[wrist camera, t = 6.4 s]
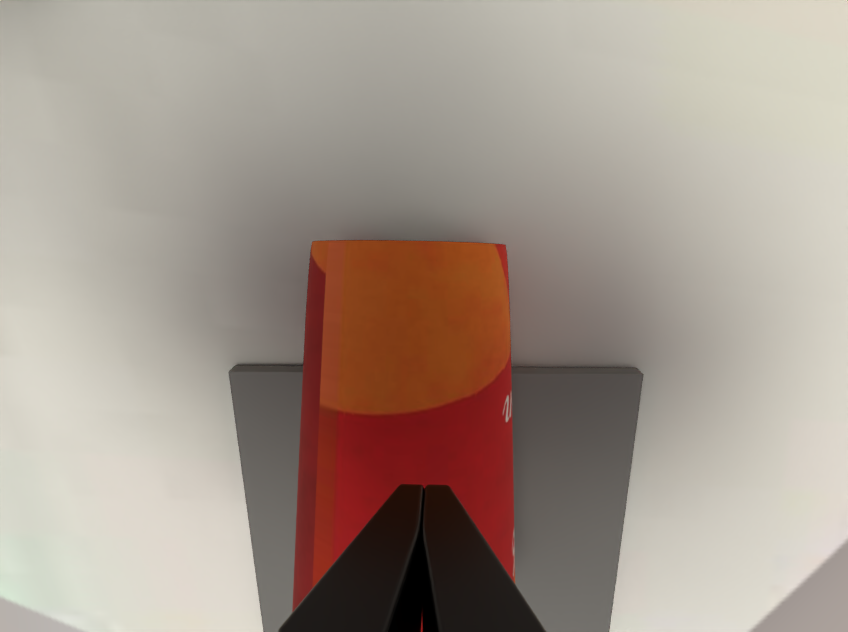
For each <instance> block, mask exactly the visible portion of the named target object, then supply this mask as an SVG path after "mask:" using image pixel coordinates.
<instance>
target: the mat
mask: <svg viewBox="0 0 848 632" xmlns="http://www.w3.org/2000/svg"><path fill="white" fill-rule="evenodd" d="M229 378H230V385H231V393H232V400H233V408H234V415H235V423H236V430H237V437H238V445H239V452H240V460H241V467H242V475H243V482H244V490H245V497H246V504H247V512H248V519H249V527H250V534H251V542H252V549H253V557H254V564H255V572H256V579H257V586H258V594H259V601H260V609H261V616H262V624H263V631H264V632H278V629H279V628H280V626H281V625H282V624H283V623H284V622H285V620H286V619H287V618H288V617H289V616H290V615H291V613H292V607H293V584H294V560H295V537H296V514H297V490H298V467H299V445H300V423H301V402H302V380H303V366H246V365H235V366H234V367H233V368H232V369H231V370H230V371H229ZM511 381H512V430H513V482H514V542H515V585H516V586H517V588H518V589H519V591H520V592H521V594H522V595H523V597H524V598H525V600H526V601H527V603H528V604H529V606H530V607H531V609H532V610H533V612H534V613H535V615H536V616H537V618H538V619H539V621H540V622H541V624H542V625H543V627H544V628H545V630H546V631H547V632H609V629H610V622H611V614H612V606H613V599H614V591H615V584H616V576H617V569H618V561H619V554H620V546H621V539H622V531H623V524H624V516H625V509H626V501H627V494H628V486H629V478H630V471H631V463H632V456H633V448H634V441H635V433H636V426H637V418H638V411H639V403H640V396H641V388H642V381H643V374H642V373H641V372H640V371H639V370H638V369H637V368H564V367H511Z"/></svg>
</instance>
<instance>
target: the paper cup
mask: <svg viewBox="0 0 848 632" xmlns="http://www.w3.org/2000/svg"><path fill="white" fill-rule="evenodd" d="M401 484H420V485H423V487H424V489H425V487H426V486H427V485H448V486H450V487H451V489H452V490H453V492H454V493H455V495H456V496H457V498H458V499H459V501H460V502H461V504H462V505H463V507H464V508H465V510H466V511H467V513H468V514H469V516H470V517H471V519H472V520H473V522H474V523H475V525H476V526H477V528H478V529H479V531H480V532H481V534H482V535H483V537H484V538H485V540H486V541H487V543H488V544H489V546H490V547H491V549H492V550H493V552H494V553H495V555H496V556H497V558H498V559H499V561H500V562H501V564H502V565H503V567H504V568H505V570H506V571H507V573H508V574H509V576H510V577H511V579H512V580H513V582H514V583H515V542H514V482H513V430H512V381H511V340H510V306H509V280H508V264H507V251H506V245H503V244H491V243H472V242H443V241H395V240H331V241H313V242H312V246H311V252H310V263H309V274H308V289H307V304H306V321H305V341H304V361H303V380H302V402H301V423H300V445H299V467H298V490H297V514H296V537H295V560H294V584H293V607H292V612H293V611H294V610H295V609H296V607H297V606H298V605H299V604H300V603H301V601H302V600H303V599H304V598H305V597H306V595H307V594H308V593H309V592H310V591H311V589H312V588H313V587H314V586H315V585H316V584H317V582H318V581H319V580H320V579H321V578H322V576H323V575H324V574H325V573H326V572H327V570H328V569H329V568H330V567H331V566H332V564H333V563H334V562H335V561H336V560H337V558H338V557H339V556H340V555H341V554H342V553H343V551H344V550H345V549H346V548H347V547H348V545H349V544H350V543H351V542H352V541H353V539H354V538H355V537H356V536H357V535H358V533H359V532H360V531H361V530H362V529H363V528H364V526H365V525H366V524H367V523H368V522H369V520H370V519H371V518H372V517H373V516H374V514H375V513H376V512H377V511H378V510H379V508H380V507H381V506H382V505H383V504H384V502H385V501H386V500H387V499H388V498H389V497H390V495H391V494H392V493H393V492H394V491H395V489H396V488H397V487H398V486H399V485H401ZM421 632H422V627H421Z"/></svg>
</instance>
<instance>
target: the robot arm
mask: <svg viewBox="0 0 848 632" xmlns="http://www.w3.org/2000/svg"><path fill="white" fill-rule="evenodd" d="M421 627H422V632H547V631H546V630H545V628H544V627H543V625H542V624H541V622H540V621H539V619H538V618H537V616H536V615H535V613H534V612H533V610H532V609H531V607H530V606H529V604H528V603H527V601H526V600H525V598H524V597H523V595H522V594H521V592H520V591H519V589H518V588H517V586H516V585H515V583H514V582H513V580H512V579H511V577H510V576H509V574H508V573H507V571H506V570H505V568H504V567H503V565H502V564H501V562H500V561H499V559H498V558H497V556H496V555H495V553H494V552H493V550H492V549H491V547H490V546H489V544H488V543H487V541H486V540H485V538H484V537H483V535H482V534H481V532H480V531H479V529H478V528H477V526H476V525H475V523H474V522H473V520H472V519H471V517H470V516H469V514H468V513H467V511H466V510H465V508H464V507H463V505H462V504H461V502H460V501H459V499H458V498H457V496H456V495H455V493H454V492H453V490H452V489H451V487H450V486H448V485H427V486H426V487H425V489H424V487H423V485H420V484H401V485H399V486H398V487H397V488H396V489H395V491H394V492H393V493H392V494H391V495H390V497H389V498H388V499H387V500H386V501H385V502H384V504H383V505H382V506H381V507H380V508H379V510H378V511H377V512H376V513H375V514H374V516H373V517H372V518H371V519H370V520H369V522H368V523H367V524H366V525H365V526H364V528H363V529H362V530H361V531H360V532H359V533H358V535H357V536H356V537H355V538H354V539H353V541H352V542H351V543H350V544H349V545H348V547H347V548H346V549H345V550H344V551H343V553H342V554H341V555H340V556H339V557H338V558H337V560H336V561H335V562H334V563H333V564H332V566H331V567H330V568H329V569H328V570H327V572H326V573H325V574H324V575H323V576H322V578H321V579H320V580H319V581H318V582H317V584H316V585H315V586H314V587H313V588H312V589H311V591H310V592H309V593H308V594H307V595H306V597H305V598H304V599H303V600H302V601H301V603H300V604H299V605H298V606H297V607H296V609H295V610H294V611H293V612H292V613H291V615H290V616H289V617H288V618H287V619H286V620H285V622H284V623H283V624H282V625H281V626H280V628H279V629H278V632H421Z"/></svg>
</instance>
